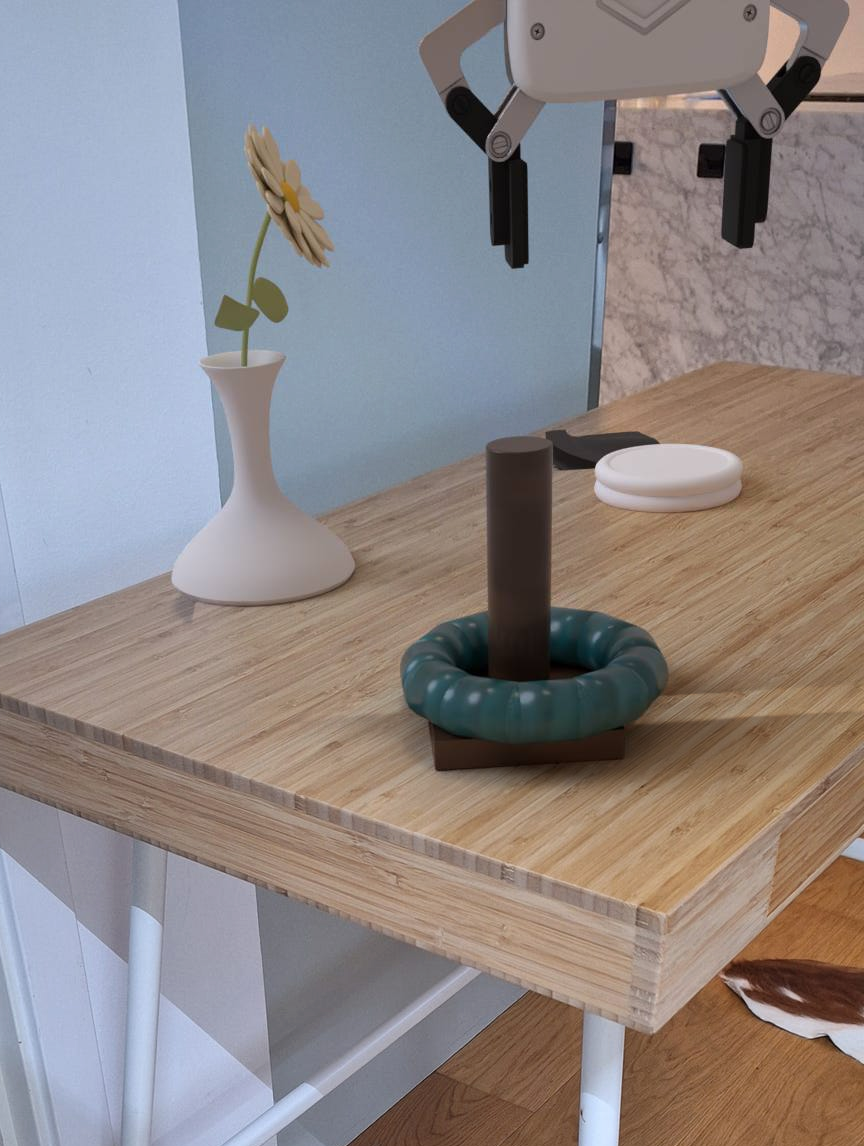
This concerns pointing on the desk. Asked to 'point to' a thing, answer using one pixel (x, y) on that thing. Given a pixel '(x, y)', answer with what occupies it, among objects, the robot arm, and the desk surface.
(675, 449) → the white grooved disc
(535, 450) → the post
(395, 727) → the desk surface
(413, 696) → the ring
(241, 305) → the flower in vase
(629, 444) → the curved wedge
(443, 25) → the robot arm
